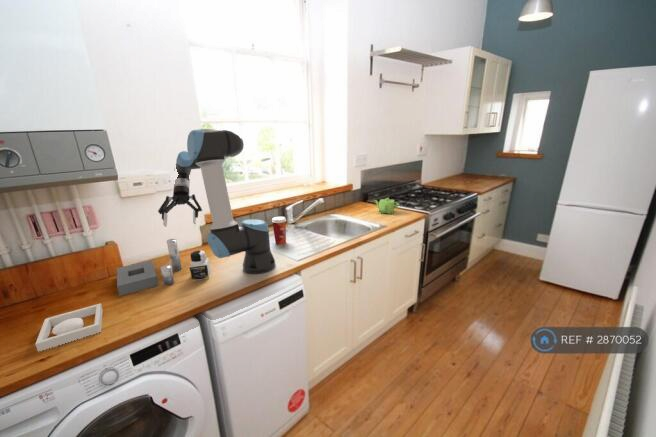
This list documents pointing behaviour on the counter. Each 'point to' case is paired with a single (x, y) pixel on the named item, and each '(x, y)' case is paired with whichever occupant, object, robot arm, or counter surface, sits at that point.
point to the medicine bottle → (199, 266)
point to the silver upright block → (167, 275)
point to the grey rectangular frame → (47, 343)
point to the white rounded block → (68, 326)
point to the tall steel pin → (174, 254)
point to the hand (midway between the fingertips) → (179, 224)
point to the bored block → (136, 277)
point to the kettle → (386, 206)
